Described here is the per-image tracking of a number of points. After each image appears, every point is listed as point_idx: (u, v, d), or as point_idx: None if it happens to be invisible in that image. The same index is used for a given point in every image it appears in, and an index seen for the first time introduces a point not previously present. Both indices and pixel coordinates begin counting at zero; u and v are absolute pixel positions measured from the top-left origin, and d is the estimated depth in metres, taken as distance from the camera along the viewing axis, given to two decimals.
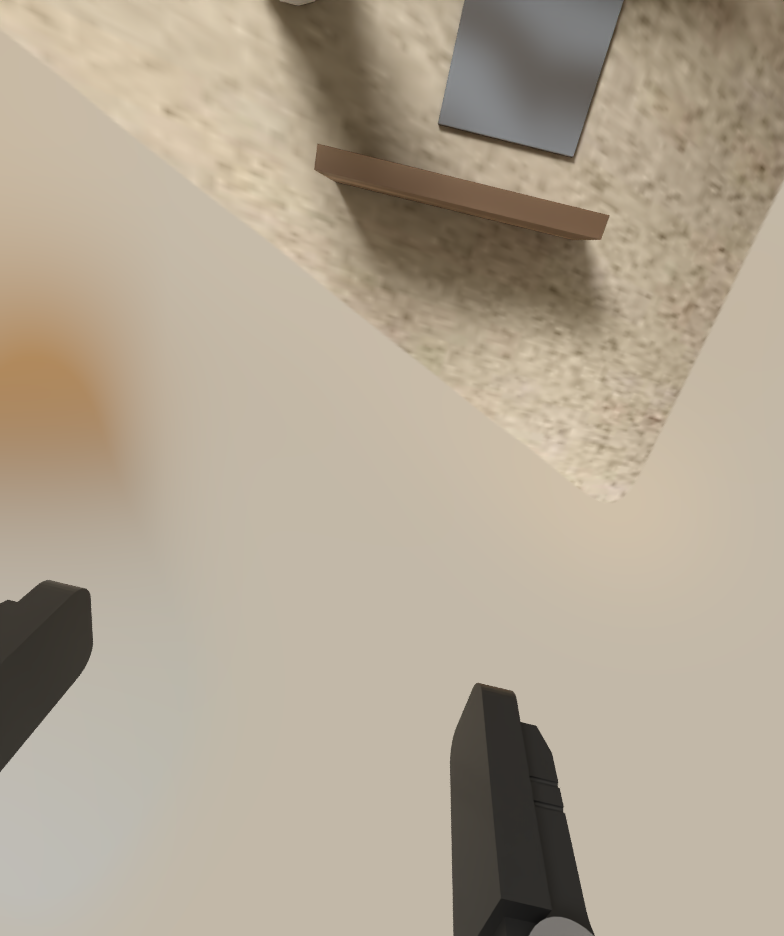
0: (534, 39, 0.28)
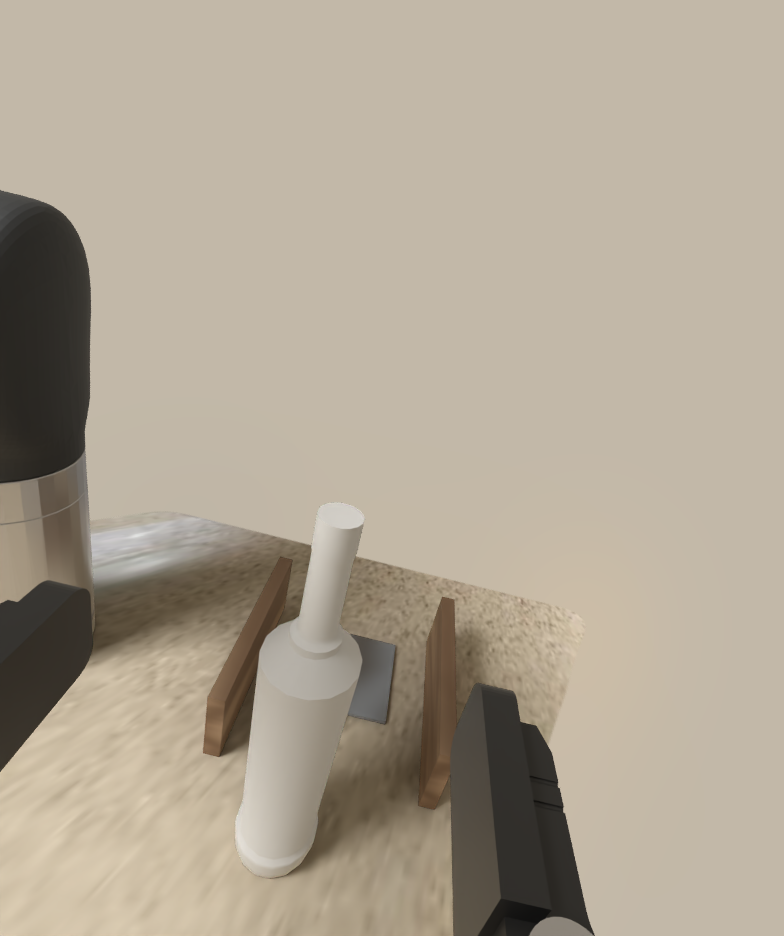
0: None
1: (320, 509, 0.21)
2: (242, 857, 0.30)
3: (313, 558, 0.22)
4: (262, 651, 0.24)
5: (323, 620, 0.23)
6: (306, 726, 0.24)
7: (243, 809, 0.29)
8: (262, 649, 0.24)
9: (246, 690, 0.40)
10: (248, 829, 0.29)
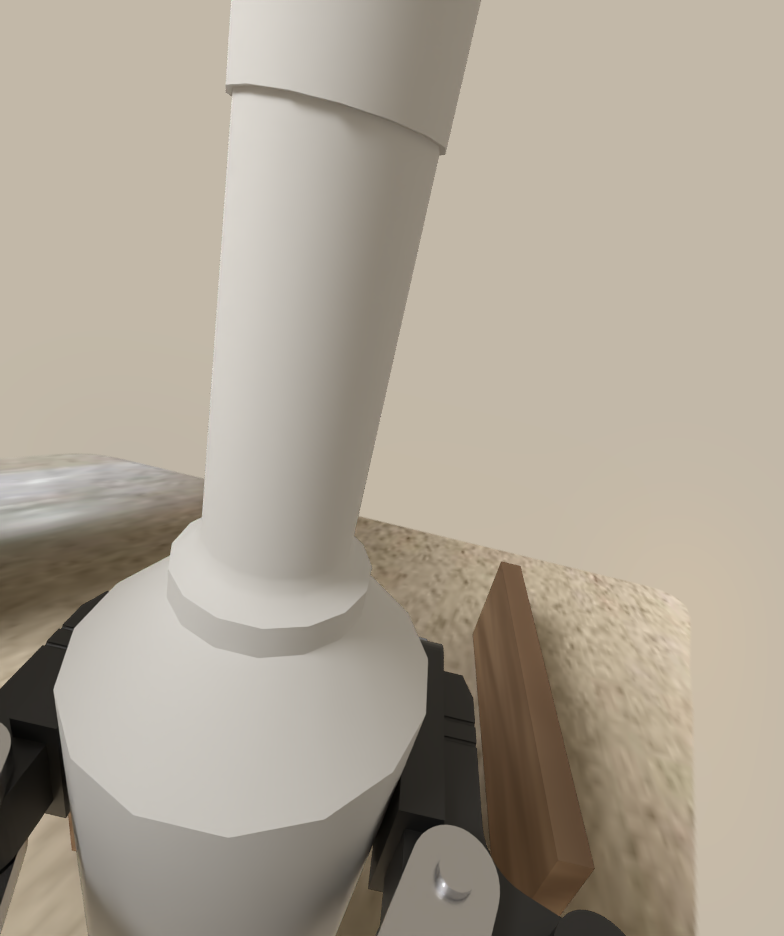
0: None
1: None
2: None
3: (235, 121, 0.04)
4: (80, 630, 0.07)
5: (292, 485, 0.05)
6: (229, 919, 0.06)
7: None
8: (82, 623, 0.07)
9: None
10: None
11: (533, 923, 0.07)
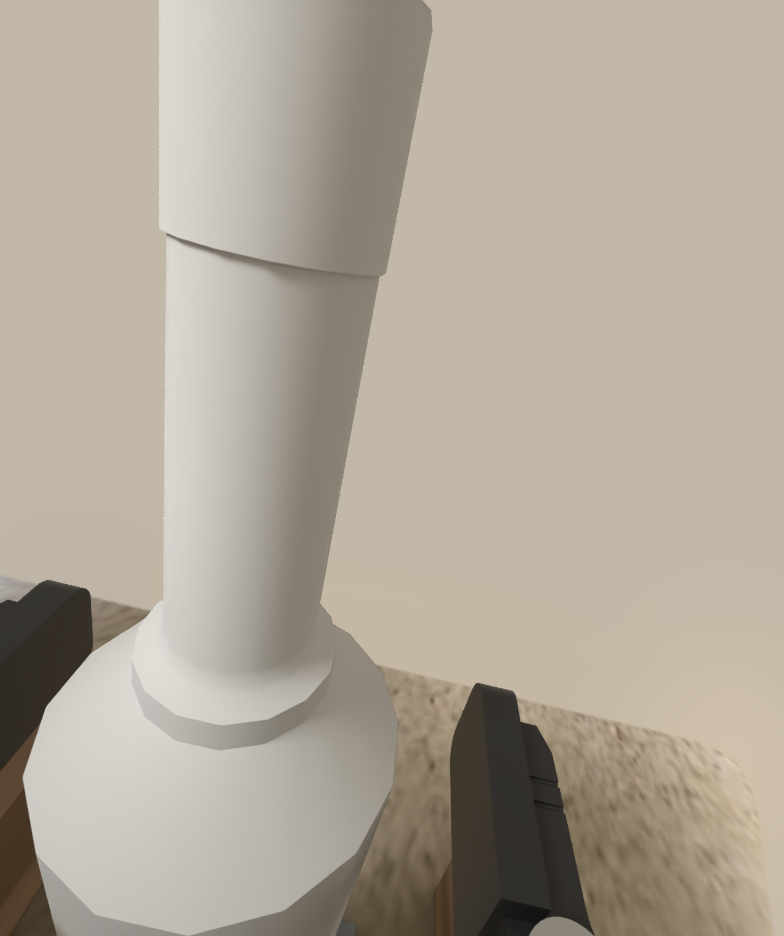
0: None
1: None
2: None
3: (171, 263, 0.04)
4: (51, 710, 0.07)
5: (245, 591, 0.05)
6: None
7: None
8: (54, 702, 0.07)
9: None
10: None
11: None
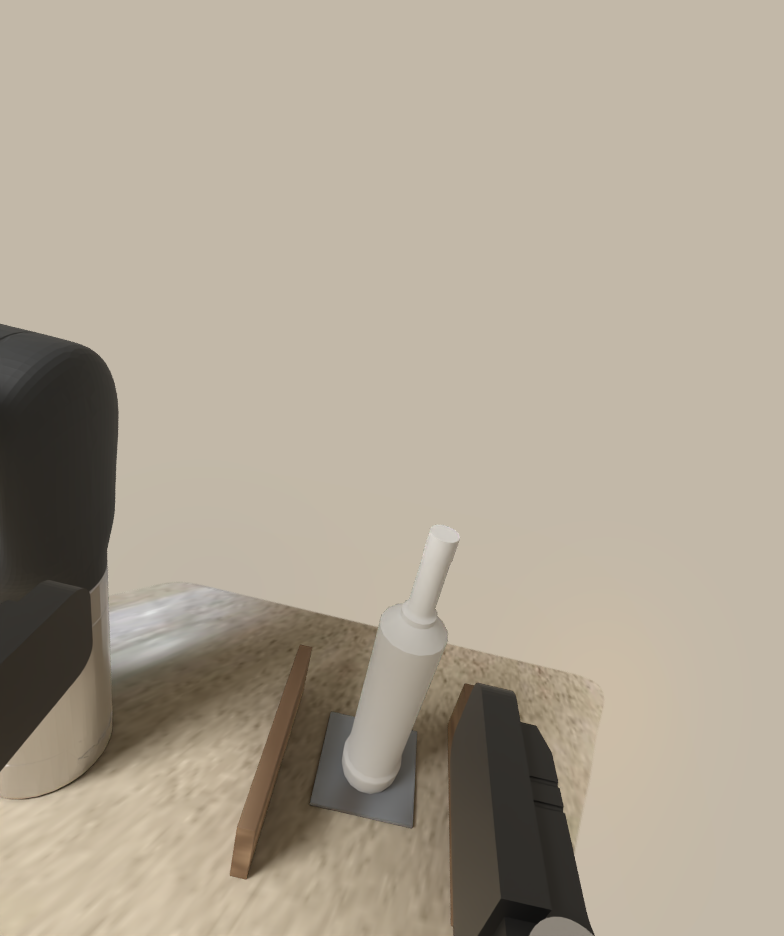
0: None
1: (431, 529, 0.33)
2: (351, 778, 0.41)
3: (426, 561, 0.33)
4: (382, 624, 0.36)
5: (428, 603, 0.34)
6: (414, 674, 0.35)
7: (353, 742, 0.41)
8: (381, 623, 0.36)
9: (270, 797, 0.39)
10: (358, 756, 0.40)
11: None
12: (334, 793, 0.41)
